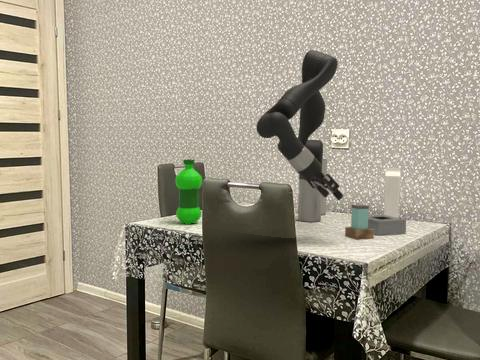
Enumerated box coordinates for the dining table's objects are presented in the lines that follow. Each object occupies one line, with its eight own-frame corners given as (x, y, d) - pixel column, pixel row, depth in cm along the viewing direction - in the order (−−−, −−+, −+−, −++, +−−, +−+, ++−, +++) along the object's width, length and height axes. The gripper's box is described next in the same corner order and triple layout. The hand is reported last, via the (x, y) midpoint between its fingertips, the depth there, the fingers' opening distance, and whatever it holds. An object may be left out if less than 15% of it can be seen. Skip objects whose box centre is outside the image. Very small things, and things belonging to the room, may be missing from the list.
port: (378, 235, 165) (378, 221, 165) (357, 229, 177) (358, 216, 176) (405, 233, 170) (406, 219, 169) (384, 227, 181) (384, 214, 181)
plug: (357, 238, 160) (358, 206, 159) (350, 236, 164) (351, 204, 163) (367, 237, 162) (368, 205, 161) (360, 235, 165) (361, 204, 165)
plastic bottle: (179, 225, 180) (179, 160, 178) (173, 221, 190) (173, 159, 188) (204, 224, 184) (204, 160, 182) (197, 220, 194) (197, 159, 192)
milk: (384, 218, 203) (385, 167, 202) (398, 219, 202) (400, 167, 200) (383, 220, 198) (385, 168, 196) (398, 221, 196) (400, 168, 194)
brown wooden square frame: (356, 239, 158) (356, 230, 158) (345, 235, 165) (345, 227, 164) (373, 238, 161) (373, 229, 161) (361, 234, 167) (361, 226, 167)
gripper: (323, 154, 147) (353, 190, 152) (300, 153, 160) (329, 186, 165) (307, 172, 145) (338, 207, 150) (286, 169, 159) (315, 202, 164)
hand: (333, 196), depth 158 cm, fingers open, 8 cm apart
